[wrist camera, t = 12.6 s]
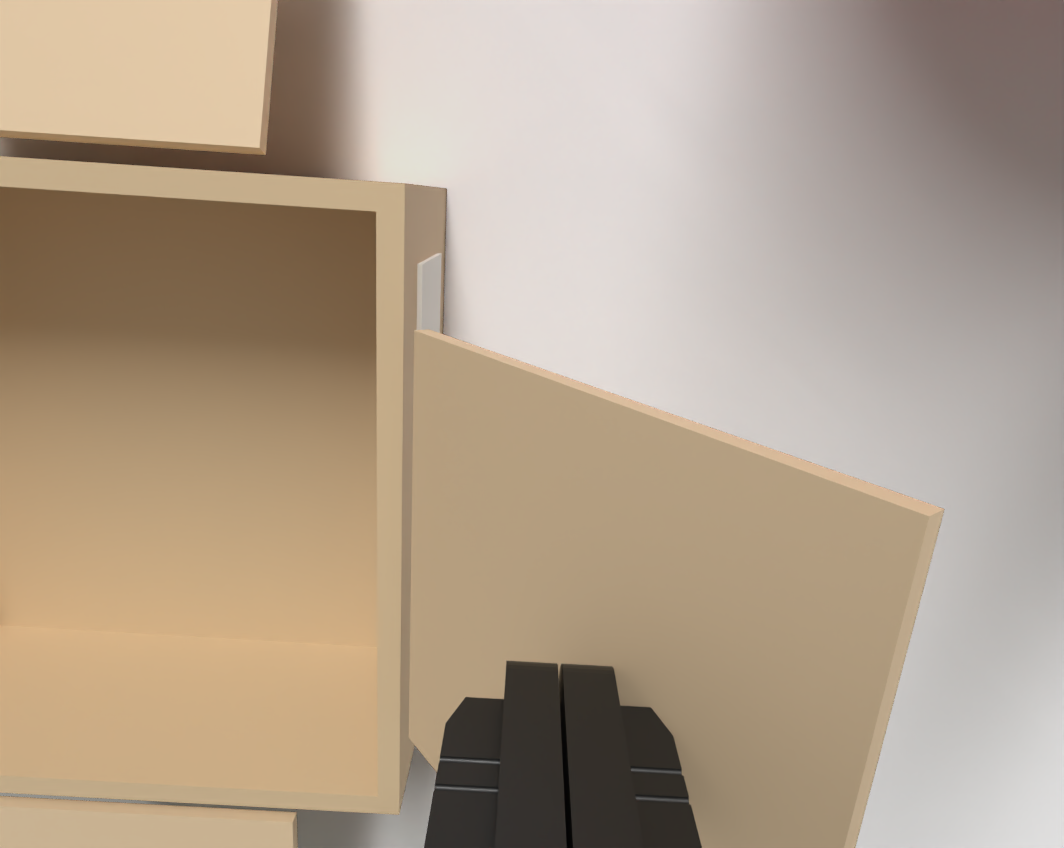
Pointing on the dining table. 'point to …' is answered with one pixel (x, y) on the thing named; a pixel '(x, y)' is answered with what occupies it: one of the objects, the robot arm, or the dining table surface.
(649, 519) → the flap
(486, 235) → the dining table surface
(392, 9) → the dining table surface
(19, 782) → the carton
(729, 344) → the dining table surface
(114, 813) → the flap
